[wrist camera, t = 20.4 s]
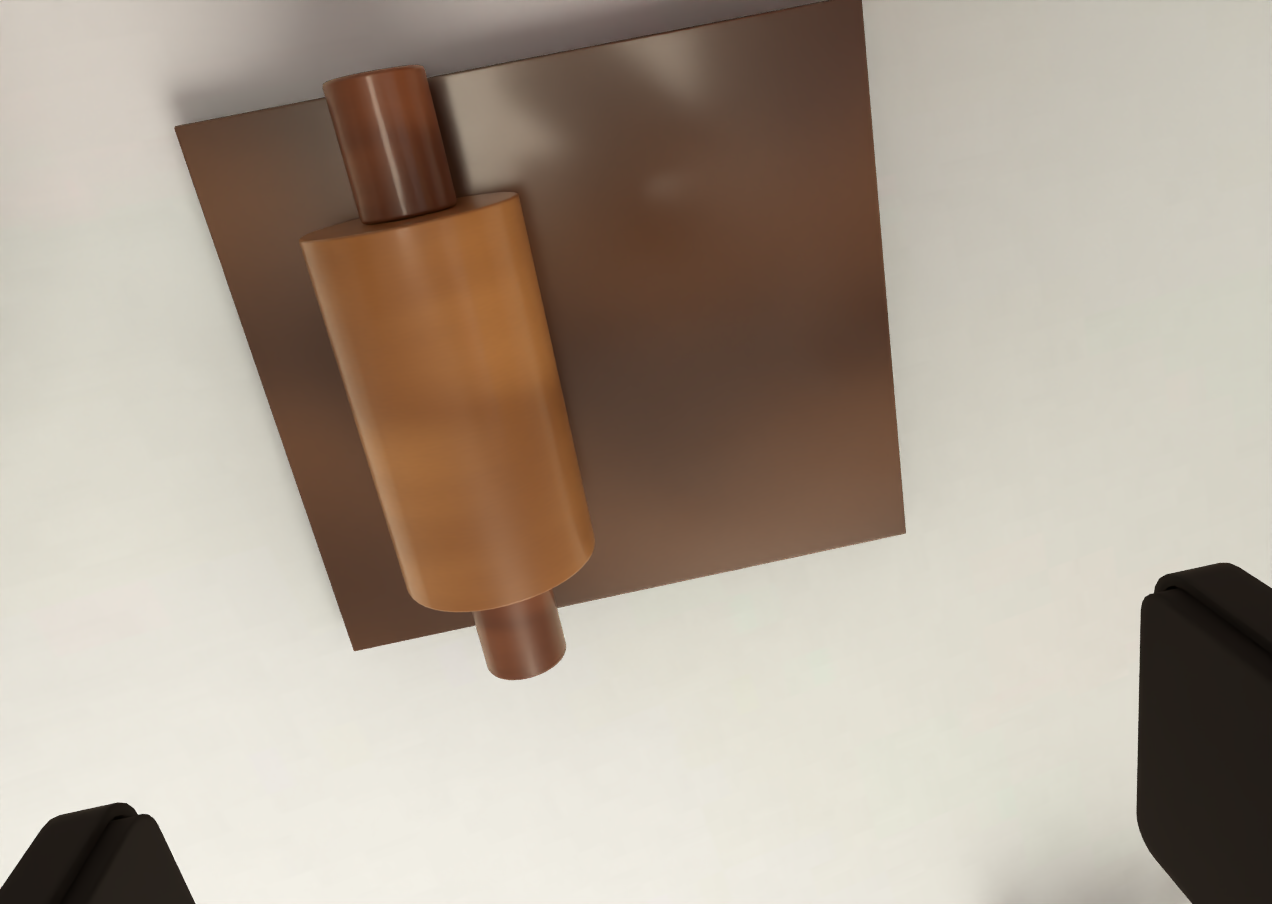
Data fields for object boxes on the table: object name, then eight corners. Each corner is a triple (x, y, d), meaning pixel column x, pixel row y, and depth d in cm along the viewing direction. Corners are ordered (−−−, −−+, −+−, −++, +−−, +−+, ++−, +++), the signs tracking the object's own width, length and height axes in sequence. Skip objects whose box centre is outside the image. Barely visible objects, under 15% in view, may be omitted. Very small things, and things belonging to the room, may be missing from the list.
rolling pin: (469, 63, 23) (260, 101, 21) (506, 41, 18) (244, 87, 17) (589, 589, 28) (427, 641, 27) (641, 673, 24) (449, 741, 22)
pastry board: (184, 126, 23) (172, 126, 22) (851, -3, 23) (861, -7, 23) (358, 637, 28) (353, 652, 27) (896, 523, 29) (906, 533, 28)
